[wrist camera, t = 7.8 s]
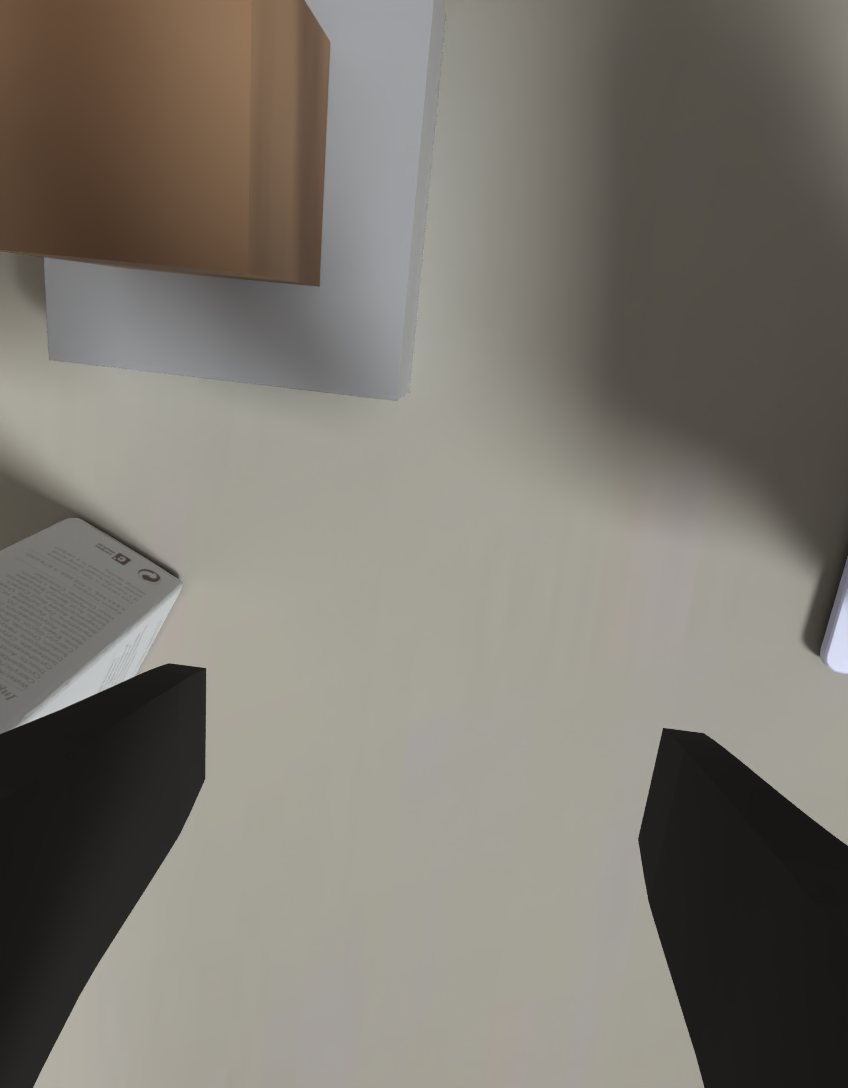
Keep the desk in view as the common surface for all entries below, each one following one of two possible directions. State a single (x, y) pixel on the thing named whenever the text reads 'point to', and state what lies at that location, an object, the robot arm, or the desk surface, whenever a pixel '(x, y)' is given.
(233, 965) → the desk surface
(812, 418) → the desk surface
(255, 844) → the desk surface
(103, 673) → the skincare box
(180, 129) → the walnut cube
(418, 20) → the stoneware block
